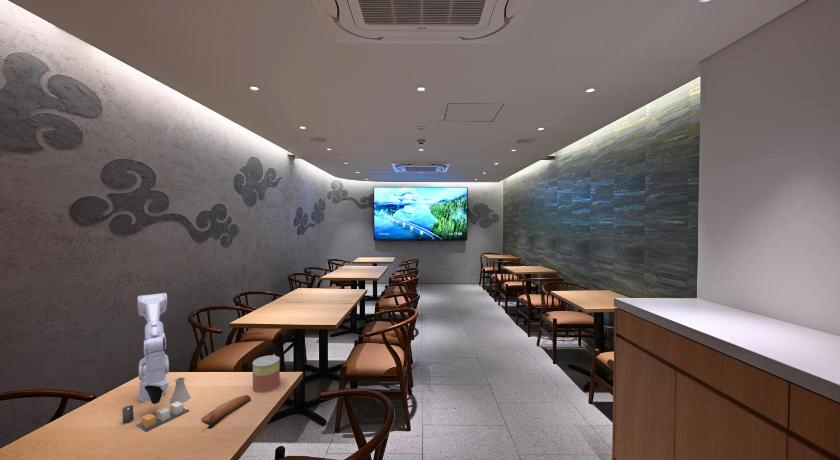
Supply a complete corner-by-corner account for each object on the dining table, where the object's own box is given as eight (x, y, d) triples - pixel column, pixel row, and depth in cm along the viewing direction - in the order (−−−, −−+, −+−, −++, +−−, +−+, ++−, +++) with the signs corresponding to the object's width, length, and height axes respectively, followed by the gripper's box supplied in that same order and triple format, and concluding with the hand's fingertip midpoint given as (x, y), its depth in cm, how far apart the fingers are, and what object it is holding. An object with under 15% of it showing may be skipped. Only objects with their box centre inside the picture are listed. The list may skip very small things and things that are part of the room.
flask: (179, 408, 128) (178, 384, 128) (164, 406, 130) (164, 382, 130) (195, 398, 136) (195, 375, 135) (181, 396, 137) (180, 373, 137)
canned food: (283, 379, 152) (283, 355, 152) (273, 392, 141) (273, 365, 140) (259, 380, 151) (259, 355, 151) (247, 393, 140) (247, 366, 140)
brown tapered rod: (236, 398, 136) (241, 386, 134) (247, 409, 134) (253, 397, 133) (193, 424, 119) (200, 410, 117) (205, 437, 117) (212, 423, 116)
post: (117, 424, 118) (117, 409, 118) (132, 418, 122) (132, 403, 122) (123, 428, 116) (123, 412, 116) (138, 421, 120) (138, 406, 119)
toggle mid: (156, 418, 120) (156, 410, 120) (164, 414, 123) (164, 407, 122) (162, 421, 119) (162, 413, 118) (169, 417, 121) (169, 410, 121)
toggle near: (170, 411, 124) (170, 404, 124) (177, 408, 127) (177, 401, 126) (175, 414, 123) (175, 407, 122) (183, 411, 125) (183, 403, 125)
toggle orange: (142, 425, 116) (141, 416, 116) (150, 421, 119) (150, 413, 118) (147, 428, 115) (147, 420, 114) (155, 424, 117) (155, 416, 117)
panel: (135, 427, 116) (135, 423, 116) (178, 408, 129) (178, 404, 129) (146, 434, 113) (145, 430, 112) (189, 413, 125) (189, 409, 125)
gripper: (133, 368, 122) (133, 402, 123) (152, 377, 116) (152, 413, 116) (155, 360, 129) (155, 393, 129) (174, 369, 122) (174, 403, 122)
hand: (155, 402), depth 123 cm, fingers closed
